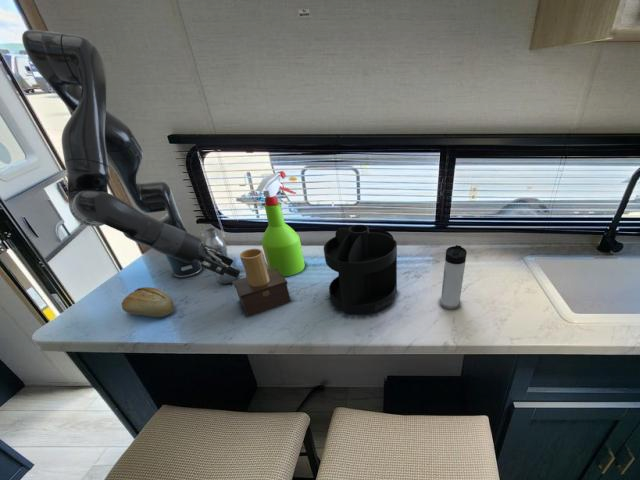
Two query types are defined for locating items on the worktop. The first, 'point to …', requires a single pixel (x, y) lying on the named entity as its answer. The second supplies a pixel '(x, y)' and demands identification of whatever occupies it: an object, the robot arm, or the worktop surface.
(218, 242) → the plastic bottle
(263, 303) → the box
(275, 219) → the spray bottle
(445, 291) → the travel mug
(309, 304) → the worktop surface
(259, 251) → the cup
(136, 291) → the bread roll
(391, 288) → the container
